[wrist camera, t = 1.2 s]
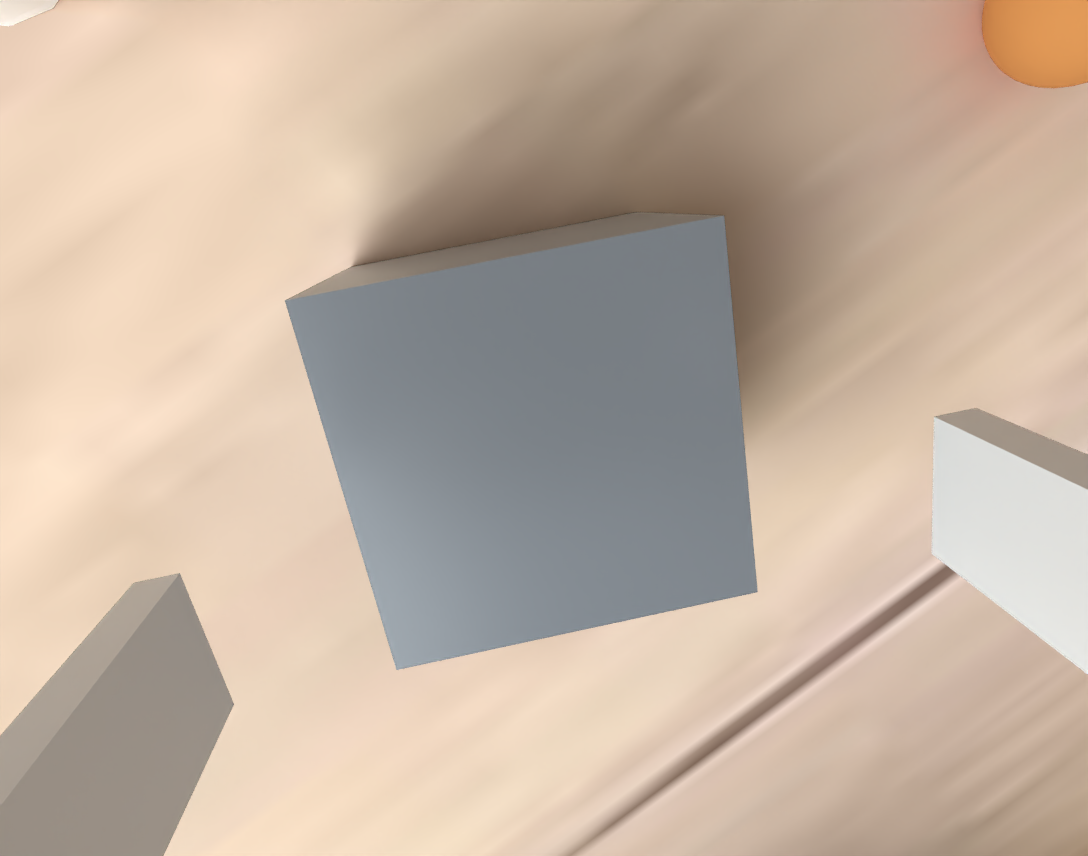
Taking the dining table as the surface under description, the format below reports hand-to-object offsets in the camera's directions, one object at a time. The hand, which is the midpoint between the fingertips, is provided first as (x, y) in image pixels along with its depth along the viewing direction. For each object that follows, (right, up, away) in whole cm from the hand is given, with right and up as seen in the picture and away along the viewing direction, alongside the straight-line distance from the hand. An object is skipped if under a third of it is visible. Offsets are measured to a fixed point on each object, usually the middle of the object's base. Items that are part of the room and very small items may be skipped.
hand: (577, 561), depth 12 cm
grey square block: (-1, +4, +14) cm, 14 cm away
